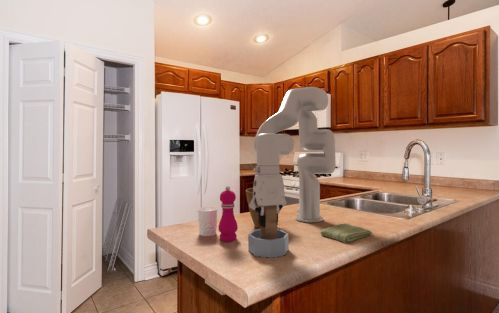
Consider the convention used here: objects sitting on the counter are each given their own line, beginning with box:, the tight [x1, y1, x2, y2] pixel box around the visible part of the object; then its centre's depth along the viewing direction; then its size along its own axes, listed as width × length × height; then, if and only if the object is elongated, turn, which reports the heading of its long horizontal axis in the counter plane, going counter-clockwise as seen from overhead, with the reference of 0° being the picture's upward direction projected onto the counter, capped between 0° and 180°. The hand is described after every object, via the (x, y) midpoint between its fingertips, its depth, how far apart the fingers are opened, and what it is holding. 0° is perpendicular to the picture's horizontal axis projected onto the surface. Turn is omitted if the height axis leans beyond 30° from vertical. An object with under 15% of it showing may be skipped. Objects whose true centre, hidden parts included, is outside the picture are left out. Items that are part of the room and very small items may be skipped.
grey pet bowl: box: [247, 228, 290, 259], centre depth 94 cm, size 12×12×6 cm
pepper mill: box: [218, 185, 239, 243], centre depth 106 cm, size 7×7×20 cm
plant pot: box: [245, 187, 261, 229], centre depth 124 cm, size 15×15×16 cm
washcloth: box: [320, 223, 373, 244], centre depth 111 cm, size 13×18×3 cm
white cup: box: [197, 206, 218, 237], centre depth 113 cm, size 8×8×10 cm
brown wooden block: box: [260, 205, 278, 240], centre depth 94 cm, size 4×4×15 cm
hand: (268, 225), depth 94 cm, fingers closed on brown wooden block, 3 cm apart
